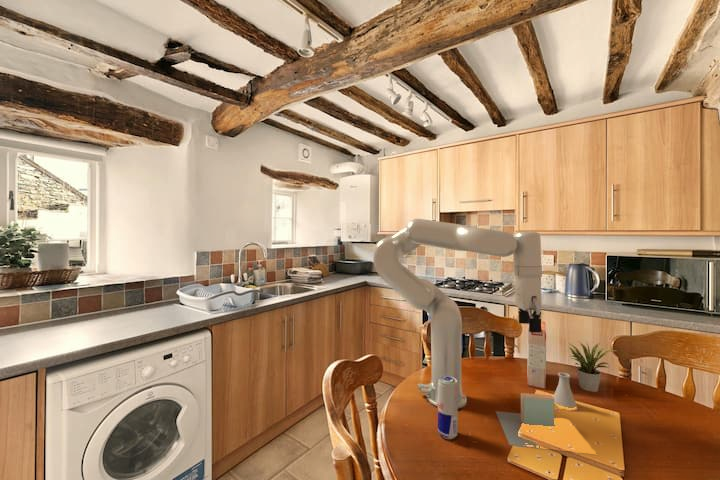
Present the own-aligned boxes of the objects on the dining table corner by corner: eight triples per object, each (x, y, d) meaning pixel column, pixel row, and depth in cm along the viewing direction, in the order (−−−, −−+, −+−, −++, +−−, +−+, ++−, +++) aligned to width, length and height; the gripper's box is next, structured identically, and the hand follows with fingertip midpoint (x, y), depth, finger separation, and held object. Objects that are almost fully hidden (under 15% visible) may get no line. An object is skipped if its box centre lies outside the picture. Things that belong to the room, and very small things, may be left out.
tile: (523, 425, 87) (523, 396, 87) (520, 420, 90) (520, 392, 90) (554, 428, 86) (554, 399, 86) (551, 423, 88) (551, 395, 88)
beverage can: (442, 426, 88) (442, 373, 88) (460, 433, 84) (460, 378, 84) (434, 435, 84) (434, 379, 84) (452, 443, 80) (452, 385, 80)
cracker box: (546, 390, 109) (546, 330, 109) (527, 386, 112) (526, 327, 112) (546, 375, 121) (545, 321, 121) (528, 371, 124) (528, 319, 124)
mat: (509, 446, 79) (509, 444, 79) (495, 412, 95) (495, 411, 95) (599, 457, 75) (599, 455, 75) (568, 419, 91) (568, 418, 91)
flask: (583, 413, 94) (582, 380, 94) (556, 411, 95) (556, 378, 95) (571, 401, 101) (571, 370, 101) (547, 399, 102) (547, 368, 102)
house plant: (613, 384, 113) (613, 339, 113) (624, 402, 100) (623, 351, 100) (566, 376, 119) (566, 333, 119) (571, 392, 107) (570, 344, 107)
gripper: (507, 269, 106) (508, 320, 105) (523, 275, 89) (525, 335, 88) (531, 269, 104) (532, 320, 104) (552, 274, 87) (554, 336, 87)
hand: (529, 327), depth 96 cm, fingers open, 9 cm apart
